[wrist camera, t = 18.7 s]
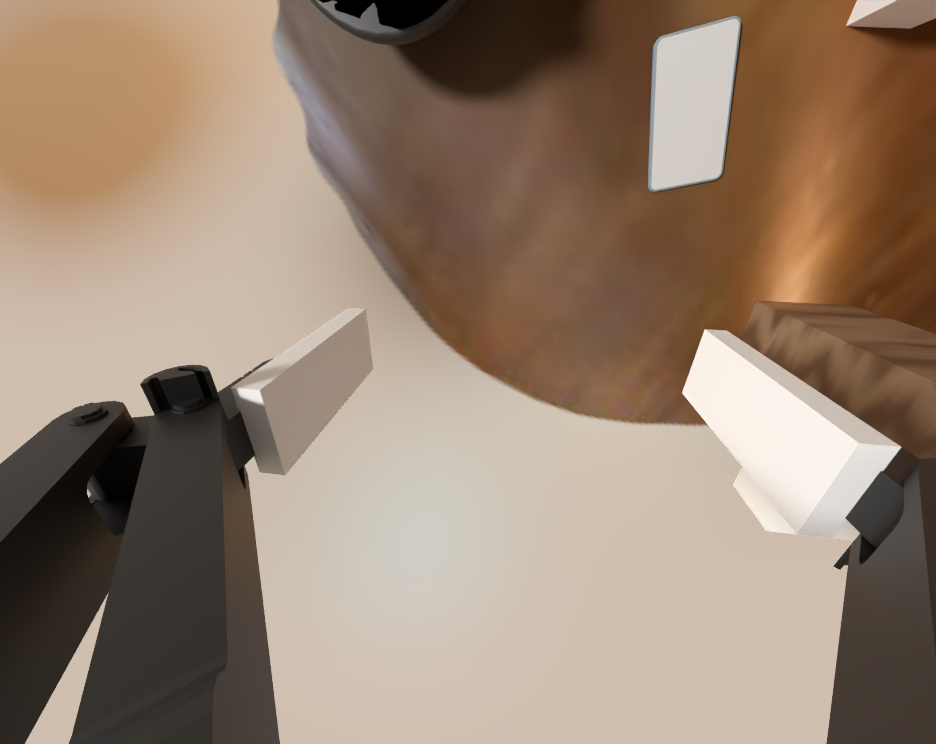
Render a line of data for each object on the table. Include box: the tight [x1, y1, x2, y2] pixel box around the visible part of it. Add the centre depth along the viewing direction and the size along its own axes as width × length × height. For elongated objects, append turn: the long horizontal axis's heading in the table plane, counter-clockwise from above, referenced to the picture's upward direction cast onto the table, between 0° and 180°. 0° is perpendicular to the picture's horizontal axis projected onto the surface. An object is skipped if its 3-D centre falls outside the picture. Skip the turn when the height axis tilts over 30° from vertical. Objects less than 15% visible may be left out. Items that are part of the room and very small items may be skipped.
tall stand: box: [740, 301, 936, 459], centre depth 36 cm, size 12×14×30 cm
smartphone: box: [648, 16, 741, 192], centre depth 40 cm, size 8×1×15 cm
